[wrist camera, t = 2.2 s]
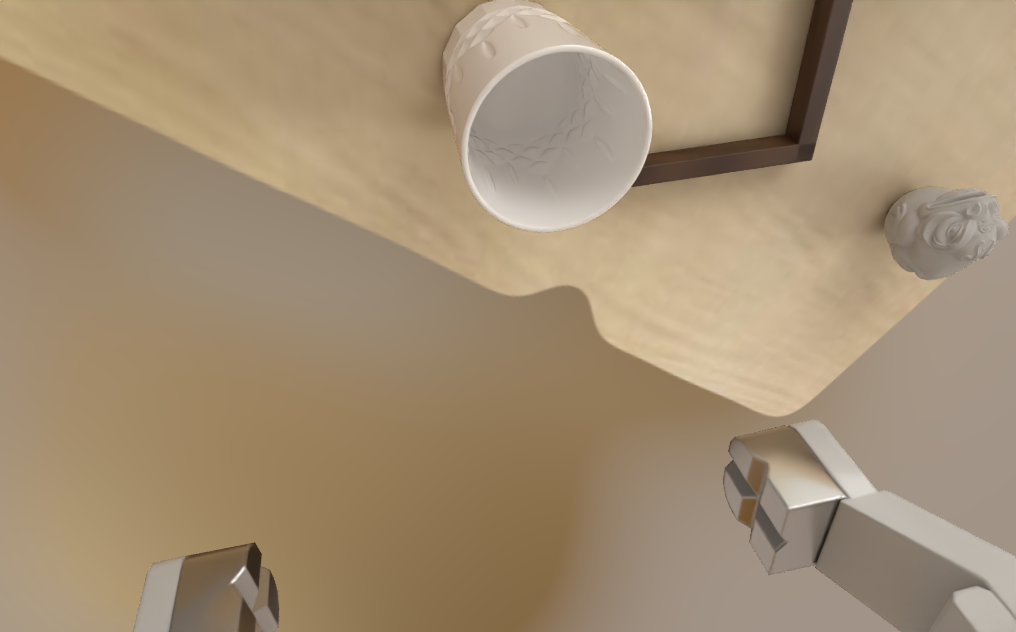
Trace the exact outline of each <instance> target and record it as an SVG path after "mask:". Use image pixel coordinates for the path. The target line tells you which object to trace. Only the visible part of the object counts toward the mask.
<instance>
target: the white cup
mask: <svg viewBox="0 0 1016 632" xmlns="http://www.w3.org/2000/svg"><path fill="white" fill-rule="evenodd" d="M443 87H444V90H445V97H446V103H447V109H448V113H449V117H450V123H451V127H452V131H453V135H454V138H455V142H456V146H457V149H458V153H459V157H460V160H461V164H462V168H463V172H464V176H465V179H466V182H467V184H468V186H469V189H470V191H471V192H472V194H473V196H474V197H475V199H476V200H477V201H478V203H479V204H480V205H481V206H482V207H483V208H484V209H485V210H486V211H487V212H488V213H489V214H490V215H492V216H493V217H494V218H496V219H497V220H499V221H501V222H502V223H504V224H506V225H508V226H511V227H514V228H517V229H520V230H524V231H530V232H557V231H563V230H567V229H571V228H574V227H577V226H580V225H583V224H585V223H587V222H589V221H591V220H593V219H595V218H597V217H598V216H600V215H601V214H603V213H604V212H606V211H607V210H609V209H610V208H611V207H612V206H613V205H615V204H616V203H617V202H618V201H619V200H620V199H621V198H622V197H623V196H624V195H625V194H626V192H627V191H628V190H629V189H630V187H631V186H632V185H633V183H634V182H635V180H636V179H637V177H638V175H639V174H640V172H641V170H642V168H643V165H644V163H645V161H646V158H647V155H648V152H649V148H650V143H651V137H652V114H651V108H650V104H649V100H648V97H647V95H646V92H645V90H644V88H643V86H642V84H641V83H640V81H639V79H638V78H637V77H636V75H635V74H634V73H633V72H632V71H631V69H630V68H629V67H627V66H626V65H625V64H624V63H623V62H622V61H620V60H619V59H618V58H616V57H615V56H613V55H612V54H611V53H609V52H608V51H607V50H605V49H604V48H603V47H601V46H600V45H599V44H597V43H596V42H595V41H593V40H592V39H591V38H590V37H588V36H587V35H586V34H584V33H583V32H582V31H580V30H579V29H578V28H576V27H575V26H573V25H571V24H570V23H568V22H567V21H566V20H564V19H563V18H561V17H559V16H557V15H555V14H553V13H551V12H549V11H548V10H547V9H545V8H544V7H543V6H542V5H540V4H538V3H534V2H530V1H526V0H494V1H490V2H486V3H482V4H479V5H478V6H477V7H476V8H475V9H474V10H472V11H471V12H470V13H469V14H468V15H467V16H466V17H464V18H463V19H462V20H461V21H460V22H459V23H457V24H456V25H455V27H454V30H453V32H452V34H451V36H450V39H449V41H448V43H447V45H446V48H445V50H444V52H443Z"/></svg>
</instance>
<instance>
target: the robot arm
mask: <svg viewBox="0 0 1016 632" xmlns="http://www.w3.org/2000/svg"><path fill="white" fill-rule="evenodd" d="M728 452H729V454H730V455H731V457H732V458H733V460H732V461H731V462H730V463H729V464H728V465H727V467H725V470H724V477H723V484H724V490H725V496H726V499H727V501H728V504H729V506H730V509H731V510H732V512H733V514H734V516H735V518H736V519H737V520H738V521H739V522H741V523H743V524H744V525H746V526H748V527H749V528H751V534H750V541H749V542H750V544H751V546H752V547H753V549H754V551H755V552H756V554H757V556H758V558H759V559H760V560H761V563H762V564H763V566H764V568H765V569H766V571H767V573H768V574H769V575H771V574H776V573H781V572H785V571H790V570H795V569H799V568H804V567H809V566H813V565H816V566H815V568H816V569H817V570H819V571H820V572H821V573H823V574H824V575H826V576H827V577H828V578H829V579H831V580H832V581H834V582H835V583H836V584H838V585H839V586H840V587H842V588H843V589H844V590H846V591H847V592H848V593H850V594H851V595H852V596H854V597H855V598H856V599H858V600H859V601H861V602H862V603H863V604H865V605H866V606H867V607H869V608H870V609H871V610H873V611H874V612H875V613H877V614H878V615H880V616H881V617H882V618H883V619H885V620H886V621H887V622H889V623H890V624H892V625H893V626H894V627H896V628H897V629H898V630H900V631H901V632H1016V557H1015V556H1013V555H1011V554H1009V553H1007V552H1006V551H1004V550H1002V549H1000V548H998V547H996V546H994V545H992V544H990V543H988V542H986V541H984V540H982V539H980V538H978V537H976V536H974V535H973V534H971V533H969V532H967V531H965V530H963V529H961V528H959V527H957V526H955V525H953V524H951V523H949V522H947V521H945V520H943V519H941V518H940V517H938V516H936V515H933V514H932V513H930V512H928V511H926V510H924V509H922V508H920V507H918V506H916V505H914V504H912V503H910V502H909V501H907V500H905V499H903V498H901V497H899V496H897V495H895V494H893V493H891V492H889V491H887V490H882V491H877V490H876V489H875V487H874V486H873V485H872V484H871V482H870V481H869V480H868V479H867V478H866V476H865V475H864V474H863V473H862V472H861V470H860V469H859V468H858V467H857V465H856V464H855V463H854V462H853V460H852V459H851V458H850V457H849V456H848V454H847V453H846V452H845V451H844V450H843V448H842V447H841V446H840V444H839V443H838V442H837V441H836V439H835V438H834V437H833V436H832V435H831V433H830V432H829V431H828V430H827V428H826V427H825V426H824V425H823V424H822V423H821V422H819V421H817V420H809V421H805V422H801V423H796V424H792V425H788V426H785V425H784V426H780V427H775V428H771V429H767V430H762V431H758V432H754V433H750V434H745V435H741V436H737V437H734V438H733V439H732V441H731V442H730V446H729V450H728ZM261 556H262V554H261V552H260V550H259V549H258V547H257V545H256V544H255V543H250V544H245V545H240V546H235V547H230V548H224V549H220V550H214V551H210V552H204V553H199V554H194V555H188V556H184V557H179V558H174V559H169V560H164V561H160V562H155V563H153V565H152V566H151V568H150V570H149V571H148V573H147V575H146V579H145V584H144V588H143V592H142V596H141V600H140V604H139V608H138V613H137V617H136V621H135V625H134V629H133V632H275V631H276V630H277V628H278V624H279V603H278V592H277V587H276V584H275V580H274V577H273V575H272V573H271V571H270V570H269V569H267V568H264V567H262V566H261Z"/></svg>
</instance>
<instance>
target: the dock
mask: <svg viewBox="0 0 1016 632" xmlns="http://www.w3.org/2000/svg"><path fill="white" fill-rule="evenodd" d="M852 2H853V0H816V2H815V7H814V11H813V15H812V20H811V24H810V29H809V33H808V37H807V42H806V46H805V51H804V55H803V59H802V64H801V68H800V73H799V77H798V81H797V86H796V90H795V95H794V99H793V103H792V108H791V112H790V117H789V121H788V125H787V130H786V134H785V135H779V136H772V137H765V138H758V139H751V140H744V141H737V142H730V143H723V144H716V145H709V146H702V147H695V148H688V149H681V150H674V151H667V152H660V153H653V154H648V155H647V158H646V161H645V163H644V165H643V168H642V170H641V172H640V174H639V175H638V177H637V179H636V180H635V182H634V183H633V185H632V186H631V187H635V186H642V185H649V184H655V183H662V182H669V181H675V180H682V179H689V178H696V177H702V176H709V175H716V174H722V173H729V172H736V171H743V170H749V169H756V168H763V167H769V166H776V165H783V164H790V163H796V162H803V161H810V160H812V157H813V153H814V149H815V146H816V141H817V137H818V133H819V129H820V125H821V122H822V118H823V114H824V110H825V106H826V102H827V99H828V95H829V91H830V87H831V83H832V79H833V75H834V72H835V68H836V64H837V60H838V56H839V52H840V49H841V45H842V41H843V37H844V33H845V29H846V25H847V22H848V18H849V14H850V10H851V6H852Z"/></svg>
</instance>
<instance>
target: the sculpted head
mask: <svg viewBox="0 0 1016 632" xmlns="http://www.w3.org/2000/svg"><path fill="white" fill-rule="evenodd" d="M996 198H997V196H996V195H986V192H985V191H979V190H978V189H975V188H970V189H956V190H949V189H946V188H942V187H923V188H919V189H915V190H913V191H910V192H908V193H906V194H905V195H903V196H902V197H900V198H899V199H898V200H897V201H896V202H895V203H894V204H893V205H892V207H891V208H890V210H889V212H888V214H887V216H886V220H885V236H886V238H887V241H888V243H889V245H890V249H891V252H892V256H893V258H894V260H895V261H896V262H897V263H898V264H899V265H900V266H901V267H902V268H903V269H904V270H906V271H908V272H915V274H916V275H917V276H918V277H919V278H921V279H924V280H933V279H939V278H944V277H948V276H950V275H952V274H955V273H956V272H959V271H960V270H962V269H963V268H966V267H967V266H969V265H970V264H972V263H973V262H974V261H976V260H977V259H982V258H984V257H985V256H988V255H989V254H990V253H991V249H992V248H993V247H994V245H995V243H996V242H997V241H1000V240H1002V239H1004V238H1005V237H1007V235H1008V231H1009V228H1008V225H1007V223H1006V222H1005V221H1004V220H1003V219H1002V218H1000V217H999V203H998V202H996Z"/></svg>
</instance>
